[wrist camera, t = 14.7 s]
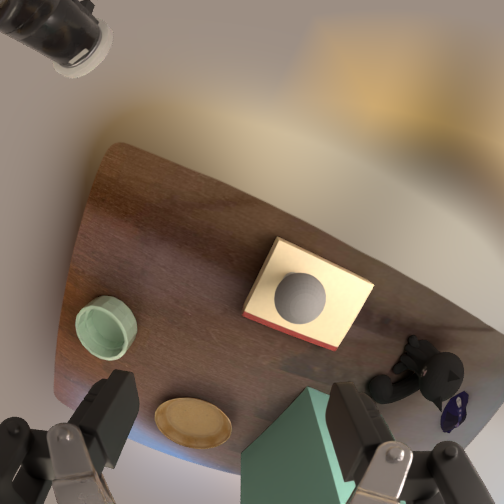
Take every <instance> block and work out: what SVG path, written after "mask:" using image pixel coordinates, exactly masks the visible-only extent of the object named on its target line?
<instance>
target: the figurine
mask: <svg viewBox="0 0 504 504" xmlns="http://www.w3.org/2000/svg"><path fill="white" fill-rule="evenodd" d="M409 343H410V344H408V345H406V347H405V350H406V352H407V355H406V354H404V355H402V356H401V358H400V360H401V362H400V363H398V364H396V365H395V366H394V368H393V371H394V373H395V374H400V373H401V372H403V371H405V370H406V369H409V370H411V371H414V372H415V373H414V374H413V375H411V376H410V377H408V378H407V379H405V380H403V381H401V382H398V383H396V384H393V385H392V383H391V380H390V378H389V377H388V376H386V375H379V376H377V377H375V378H374V379H373V380H372V381H371V383H370V386H369V388H370V391H371V394H372V397H373V399H374V400H375V401H376V402H378V403H380V404H388V403H392V402H395V401H398V400H401V399H403V398H405V397H407V396H409V395H411V394H413V393H415V392H416V391H418V390H419V389H420V391H421V393H422V395H423V396H424V397H425V398H426V399H427V400H429V401H432V402H433V403H434V404H435V405H436V406H437V407H438V408H439V410H440V411H441V412H442V401H445V400H447V399H449V398H450V397H452V396H453V395H454V394H455V393H456V392H457V391H458V389H459V388H460V386H461V384H462V381H463V378H464V367H463V364H462V362H461V360H460V358H459V357H458V356H456V355H455V354H453V353H450V352H443V353H440V352H439V351H438V350H437V349H436V348H435V347H434V346H433V345H432V344H431V343H430V342H429V341H427V340H420V341H418V340H417V337H416V336H415V335H412V336H410V337H409Z"/></svg>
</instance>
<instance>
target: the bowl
mask: <svg viewBox="0 0 504 504" xmlns="http://www.w3.org/2000/svg"><path fill="white" fill-rule="evenodd" d="M75 326H76V331H77V336H78V337H79V339H80V341H81V343H82V345H83V346H84V347H85V348H86V349H87V350H88V351H89V352H90V353H91V354H93V355H95V356H96V357H98V358H100V359H105V360H110V361H111V360H115V359H119V358H120V357H121V356H123V355H124V354H125V353H126V351H127V350H128V348H129V347H130V345H131V344H132V343H133V341H134V340H135V337H136V334H137V324H136V319H135V317H134V315H133V313H132V311H131V310H130V309H129V308H128V307H127V306H126V305H125V304H124V303H123V302H122V301H120V300H118V299H116V298H115V297H112V296H100V297H98V298H95V299H94V300H92V301H91V302H90V303H89V304H87V305H86V306H85V307H84V308H82V309H81V311H80V312H79V313H78V314H77V317H76V323H75Z"/></svg>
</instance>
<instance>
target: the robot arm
mask: <svg viewBox="0 0 504 504" xmlns="http://www.w3.org/2000/svg"><path fill="white" fill-rule="evenodd" d="M94 6H95V5H94V4H93V3H92V2H91V1H90V0H83V1H80V2H79V1H78V0H0V32H1V33H3V34H5V35H7V36H9V37H11V38H13V39H15V40H17V41H19V42H21V43H23V44H24V45H26V46H28V47H30V48H32V49H33V50H35V51H37V52H39V53H41V54H42V55H44V56H46V57H48V58H49V59H51V60H53V61H54V62H56V63H58V64H59V65H60V66H62V67H64V68H73V67H76V66H78V65H80V64H82V63H83V62H85V61H86V60H87V59H88V58H89V57H90V56H91V55H92V54H93V53H94V52H95V51H96V49H97V48H98V46H99V44H100V41H101V38H102V31H101V28H100V27H99V26H98V24H99V21H98V20H97V19H96V18H95V17H94V16H93V15H92V12H93V9H94ZM138 411H139V397H138V393H137V388H136V383H135V378H134V374H133V373H132V372H128V371H122V370H117V369H115V370H114V371H113V372H112V373H111V375H110V376H109V378H108V379H101V380H100V381H98V382H97V383H95V384H94V385H93V386H92V388H91V389H90V390H89V392H88V394H87V395H86V396H85V398H84V400H83V401H82V402H81V403H80V405H79V406H78V408H77V409H76V411H75V412H74V414H73V415H72V417H71V418H70V420H69V421H68V423H59V424H56V425H54V426H52V427H51V428H50V429H49V431H43V430H35V429H30V427H29V425H28V424H27V422H26V421H25V420H24V419H22V418H19V417H11V418H7V419H6V420H4V421H3V422H2V423H1V424H0V504H44V501H45V499H46V497H47V494H48V492H49V490H50V488H51V486H53V490H54V493H55V497H56V500H57V503H58V504H116V503H115V501H114V498H113V497H112V494H111V492H110V490H109V488H108V486H107V483H106V481H105V479H104V476H103V474H102V471H103V468H104V466H105V467H109V468H112V469H114V468H115V466H116V463H117V461H118V459H119V456H120V454H121V451H122V449H123V447H124V444H125V442H126V440H127V437H128V435H129V433H130V430H131V428H132V426H133V423H134V421H135V419H136V417H137V414H138ZM325 420H326V425H327V428H328V431H329V435H330V438H331V441H332V444H333V447H334V451H335V454H336V457H337V460H338V463H339V467H340V470H341V473H342V477H343V480H344V482H349V481H354V482H355V485H356V486H355V488H354V490H353V491H352V493H351V495H350V497H349V498H348V500H347V502H346V503H345V504H400V501H405V502H406V504H495V502H494V501H493V499H492V497H491V495H490V493H489V492H488V490H487V488H486V486H485V484H484V483H483V481H482V479H481V478H480V476H479V474H478V472H477V471H476V469H475V468H474V466H473V464H472V463H471V461H470V459H469V458H468V456H467V455H466V453H465V451H464V449H463V448H462V447H461V446H460V445H459V444H457V443H455V442H452V441H443V442H440V443H438V444H437V445H436V446H435V447H434V449H433V450H432V451H411V449H410V448H409V447H408V446H407V445H406V444H404V443H402V442H398V441H395V440H394V438H393V436H392V434H391V432H390V430H389V428H388V427H387V425H386V423H385V421H384V419H383V417H382V416H381V414H380V412H379V410H377V406H376V405H375V403H374V401H373V399H372V398H370V397H369V396H368V395H367V394H365V393H364V392H362V393H358V391H357V389H356V387H355V385H354V384H353V382H342V383H334V384H333V386H332V389H331V393H330V396H329V400H328V404H327V408H326V413H325ZM20 465H21V467H20V469H19V471H18V473H17V475H16V477H15V478H14V480H13V477H14V475H15V474H16V472H17V470H18V468H19V466H20ZM12 480H13V482H12Z"/></svg>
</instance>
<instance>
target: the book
mask: <svg viewBox="0 0 504 504" xmlns="http://www.w3.org/2000/svg"><path fill="white" fill-rule="evenodd" d="M290 272H295V273H307V274H310V275H312V276H314V277H315V278H317V279H318V280H319V281H320V282H321V284H322V285H323V287H324V289H325V293H326V302H325V306H324V309H323V311H322V312H321V314H320V315H319V316H318V317H317V318H316V319H315V320H313V321H311V322H309V323H306V324H293V323H290V322H288V321H286V320H285V319H283V318H282V317H281V316H280V315H279V314H278V312H277V310H276V307H275V304H274V295H275V291H276V288H277V286H278V285H279V283H280V282H281V281H282V280H283V278H284V276H285V275H286V274H287V273H290ZM373 286H374V285H373V284H372V283H371V282H369V281H368V280H367V279H365V278H363V277H361V276H359V275H357V274H355V273H353V272H351V271H349V270H347V269H345V268H343V267H341V266H339V265H336V264H334V263H332V262H330V261H328V260H326V259H324V258H322V257H320V256H318V255H316V254H314V253H312V252H309V251H307V250H305V249H303V248H301V247H299V246H297V245H295V244H293V243H290V242H288V241H286V240H284V239H282V238H280V237H278V236H277V237H276V239H275V241H274V243H273V246H272V248H271V250H270V252H269V254H268V256H267V258H266V260H265V262H264V264H263V266H262V268H261V270H260V272H259V274H258V276H257V278H256V280H255V282H254V284H253V286H252V288H251V291H250V293H249V295H248V297H247V299H246V301H245V303H244V304H243V306H242V316H244V317H246V318H249V319H251V320H254V321H256V322H259V323H261V324H264V325H266V326H269V327H271V328H274V329H276V330H279V331H281V332H284V333H287V334H289V335H292V336H294V337H297V338H300V339H302V340H305V341H308V342H310V343H313V344H316V345H319V346H321V347H324V348H327V349H330V350H333V351H336V349H337V348H338V346H339V344H340V343H341V341H342V340H343V338H344V336H345V335H346V333H347V331H348V330H349V328H350V327H351V325H352V323H353V322H354V320H355V318H356V316H357V315H358V313H359V311H360V310H361V308H362V306H363V304H364V303H365V301H366V299H367V297H368V295H369V294H370V292H371V290H372V288H373Z"/></svg>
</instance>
